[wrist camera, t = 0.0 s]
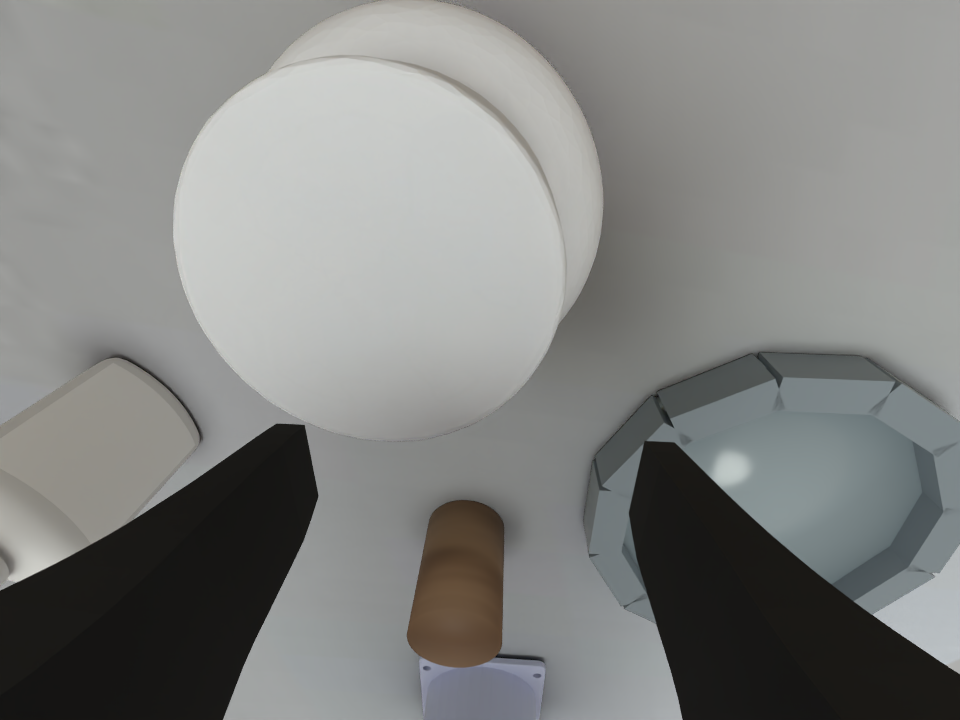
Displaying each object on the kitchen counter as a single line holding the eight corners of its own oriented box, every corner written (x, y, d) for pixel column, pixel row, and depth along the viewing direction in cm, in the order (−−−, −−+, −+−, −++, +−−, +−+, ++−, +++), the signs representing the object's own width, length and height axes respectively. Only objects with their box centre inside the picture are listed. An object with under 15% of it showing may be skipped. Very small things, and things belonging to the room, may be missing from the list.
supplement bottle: (600, 167, 17) (778, 313, 6) (463, 289, 19) (395, 562, 8) (466, -5, 15) (315, -330, 3) (332, 156, 17) (-15, 272, 6)
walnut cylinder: (503, 556, 26) (500, 670, 21) (430, 552, 27) (409, 664, 21) (505, 502, 25) (503, 613, 19) (427, 498, 25) (404, 606, 19)
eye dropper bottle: (176, 355, 21) (-146, 603, 11) (210, 454, 24) (-24, 731, 14) (82, 352, 22) (-323, 593, 11) (125, 451, 24) (-168, 720, 14)
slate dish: (861, 614, 27) (885, 650, 25) (571, 596, 28) (575, 631, 26) (1017, 361, 19) (1067, 388, 18) (610, 346, 20) (619, 370, 18)
